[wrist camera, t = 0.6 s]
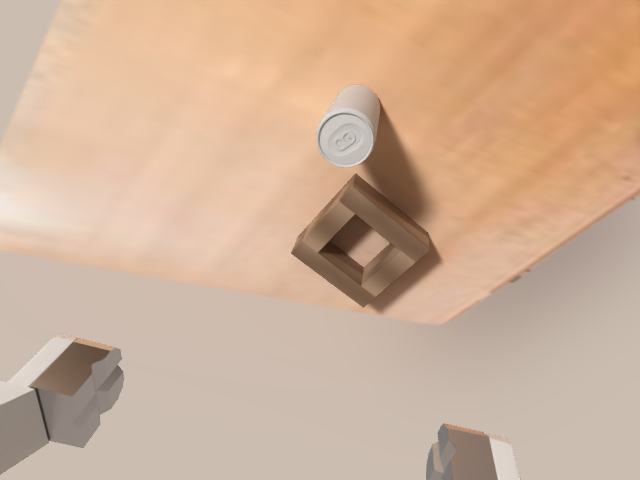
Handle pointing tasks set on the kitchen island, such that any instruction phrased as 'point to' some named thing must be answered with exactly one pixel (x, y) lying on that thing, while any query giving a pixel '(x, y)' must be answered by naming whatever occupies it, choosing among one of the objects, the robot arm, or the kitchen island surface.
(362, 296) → the walnut holder
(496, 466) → the robot arm
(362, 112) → the beverage can
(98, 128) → the kitchen island surface
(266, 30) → the kitchen island surface
